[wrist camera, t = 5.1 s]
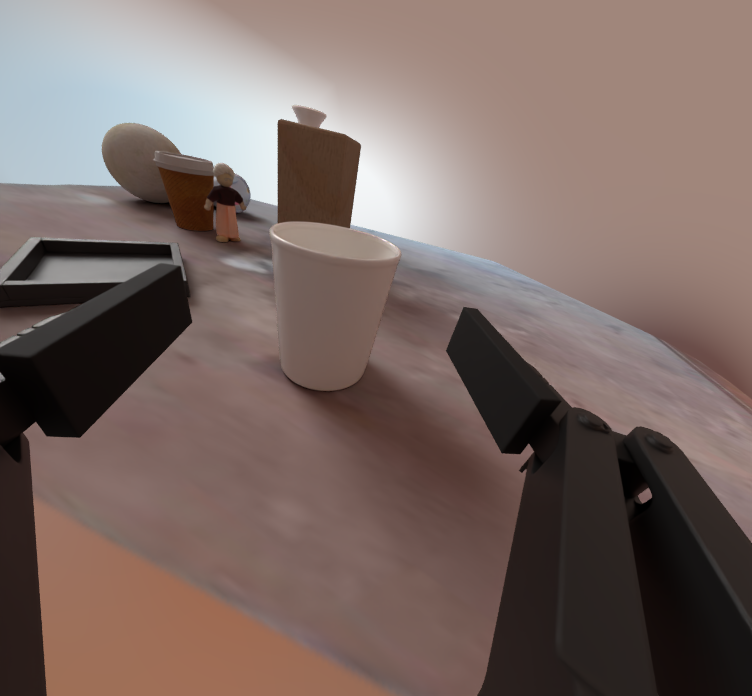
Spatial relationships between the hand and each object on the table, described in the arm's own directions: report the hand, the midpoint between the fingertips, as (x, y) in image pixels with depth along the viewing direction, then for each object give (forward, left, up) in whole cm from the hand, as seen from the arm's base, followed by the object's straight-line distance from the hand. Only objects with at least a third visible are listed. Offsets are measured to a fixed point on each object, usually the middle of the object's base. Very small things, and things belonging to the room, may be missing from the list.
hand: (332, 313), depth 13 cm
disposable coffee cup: (-1, +59, -11) cm, 60 cm away
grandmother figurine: (+4, +51, -11) cm, 52 cm away
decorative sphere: (-7, +80, -11) cm, 81 cm away
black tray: (-12, +33, -11) cm, 36 cm away
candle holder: (+5, +9, -11) cm, 15 cm away
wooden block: (+16, +38, -11) cm, 42 cm away
